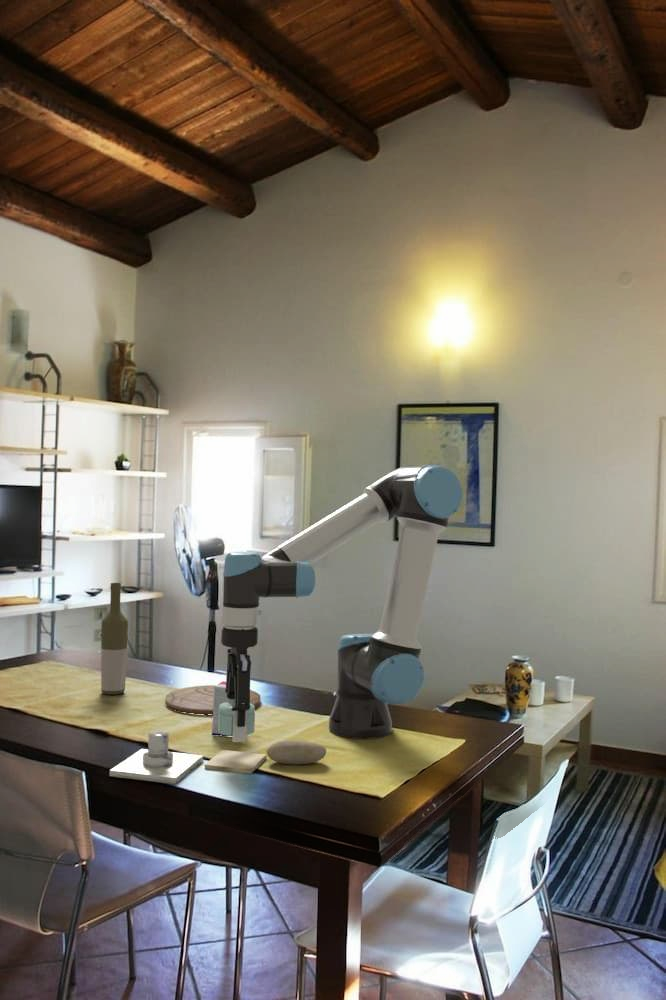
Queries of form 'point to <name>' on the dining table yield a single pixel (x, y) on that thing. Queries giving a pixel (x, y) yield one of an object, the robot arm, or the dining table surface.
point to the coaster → (235, 761)
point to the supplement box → (219, 698)
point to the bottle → (114, 646)
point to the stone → (296, 752)
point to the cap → (227, 718)
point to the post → (157, 762)
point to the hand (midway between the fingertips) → (235, 735)
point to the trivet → (199, 699)
